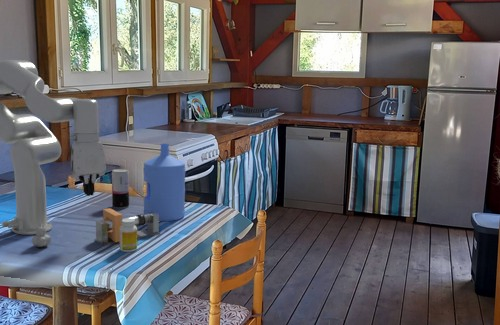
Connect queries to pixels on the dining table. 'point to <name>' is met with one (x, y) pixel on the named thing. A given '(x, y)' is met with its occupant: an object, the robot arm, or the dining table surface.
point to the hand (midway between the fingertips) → (89, 194)
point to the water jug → (165, 186)
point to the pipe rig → (140, 220)
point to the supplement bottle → (128, 235)
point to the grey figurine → (41, 237)
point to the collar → (113, 223)
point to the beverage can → (120, 188)
